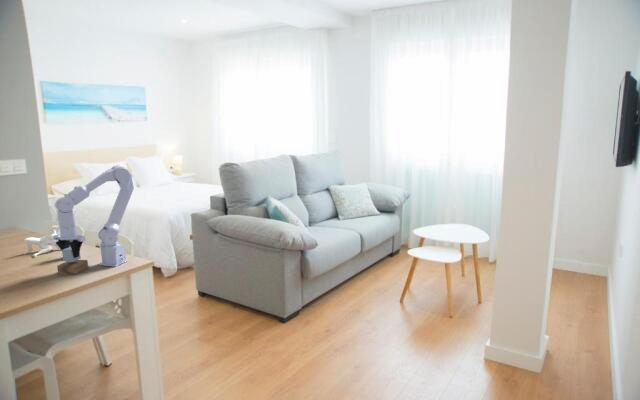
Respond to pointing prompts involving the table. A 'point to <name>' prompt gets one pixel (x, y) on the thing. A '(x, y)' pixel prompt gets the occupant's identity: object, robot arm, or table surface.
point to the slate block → (69, 255)
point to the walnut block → (72, 267)
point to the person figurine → (43, 242)
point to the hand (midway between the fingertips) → (71, 256)
